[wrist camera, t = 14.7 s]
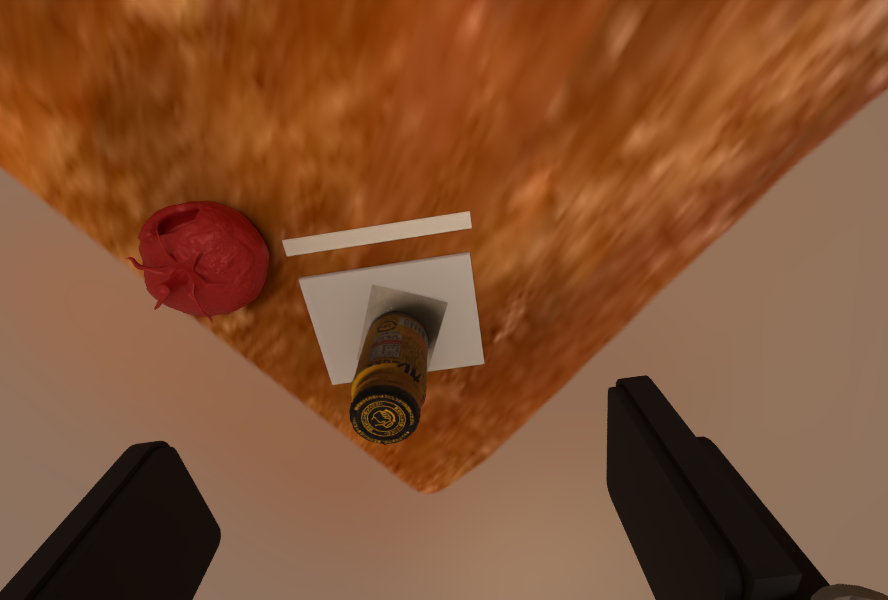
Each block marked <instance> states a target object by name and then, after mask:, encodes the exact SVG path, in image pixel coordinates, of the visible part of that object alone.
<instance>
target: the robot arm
mask: <svg viewBox="0 0 888 600" xmlns="http://www.w3.org/2000/svg"><path fill="white" fill-rule="evenodd" d="M607 422H608V423H607V487H608V491H609V494H610V497H611V500H612V502H613V504H614V506H615V509H616V511H617V513H618V516H619V518H620V520H621V522H622V525H623V527H624V529H625V531H626V533H627V536H628V538H629V540H630V543H631V545H632V547H633V549H634V552H635V554H636V556H637V558H638V561H639V563H640V565H641V568H642V570H643V572H644V574H645V577H646V579H647V581H648V583H649V585H650V588H651V590H652V592H653V595H654V597H655V599H656V600H888V596H887V595H885V594H883V593H880V592H877V591H874V590H871V589H868V588H864V587H861V586H857V585H847V584H835V585H829V583H828V582H827V581H826V580H825V578H824V577H823V576H822V575H821V574H820V572H819V571H818V570H817V569H816V567H815V566H814V565H813V564H812V563H811V561H810V560H809V559H808V558H807V557H806V555H805V554H804V553H803V552H802V550H801V549H800V548H799V547H798V545H797V544H796V543H795V542H794V541H793V539H792V538H791V537H790V536H789V534H788V533H787V532H786V531H785V530H784V528H783V527H782V526H781V525H780V523H779V522H778V521H777V520H776V519H775V517H774V516H773V515H772V514H771V512H770V511H769V510H768V509H767V507H765V505H764V504H763V503H762V501H761V500H760V499H759V498H758V496H757V495H756V494H755V493H754V491H753V490H752V489H751V488H750V487H749V485H748V484H747V483H746V482H745V481H744V479H743V478H742V477H741V476H740V474H739V473H738V472H737V471H736V469H735V468H734V467H733V466H732V465H731V463H730V462H729V461H728V460H727V459H726V457H725V456H724V455H723V454H722V452H721V451H720V450H719V449H718V447H717V446H716V445H715V444H714V443H713V442H712V441H711V440H709V439H708V438H706V437H696V436H695V435H694V434H693V432H692V431H691V430H690V429H689V427H688V426H687V425H686V424H685V422H684V421H683V420H682V418H681V417H680V416H679V415H678V413H677V412H676V411H675V409H674V408H673V407H672V406H671V404H670V403H669V402H668V401H667V399H666V398H665V396H664V395H663V394H662V393H661V391H660V390H659V389H658V387H657V386H656V385H655V384H654V383H653V381H652V380H651V379H650V378H649V377H648V376H646V375H645V376H637V377H631V378H623V379H618V380H617V382H616V387H610V388H609V389H608V418H607ZM220 539H221V532H220V528H219V526H218V524H217V522H216V521H215V518H214V517H213V515H212V513H211V511H210V510H209V508H208V506H207V504H206V503H205V501H204V499H203V497H202V495H201V494H200V492H199V490H198V488H197V486H196V485H195V483H194V481H193V479H192V478H191V476H190V474H189V472H188V470H187V469H186V467H185V465H184V463H183V462H182V460H181V458H180V456H179V454H178V453H177V451H176V450H175V448H173V447H170V446H169V445H168V443H166V442H164V441H155V442H147V443H141V444H135V445H132V446H130V447H129V448H128V449H127V450H126V451H125V452H124V453H123V454H122V455H121V456H120V457H119V459H118V460H117V461H116V462H115V463H114V464H113V466H111V468H110V469H109V470H108V471H107V472H106V473H105V474H104V475H103V477H102V478H101V479H100V480H99V481H98V482H97V484H95V486H94V487H93V488H92V489H91V490H90V491H89V492H88V494H87V495H86V496H85V497H84V498H83V499H82V500H81V502H80V503H79V504H78V505H77V506H76V507H75V508H74V509H73V511H72V512H71V513H70V514H69V515H68V516H67V517H66V518H65V520H64V521H63V522H62V523H61V524H60V525H59V526H58V528H57V529H56V530H55V531H54V532H53V533H52V534H51V535H50V537H48V539H47V540H46V541H45V542H44V543H43V544H42V545H41V546H40V548H39V549H38V550H37V551H36V552H35V553H34V554H33V556H32V557H31V558H30V559H29V560H28V561H27V562H26V563H25V565H24V566H23V567H22V568H21V569H20V570H19V571H18V573H17V574H16V575H15V576H14V577H13V578H12V579H11V580H10V581H9V583H8V584H7V585H6V586H5V587H4V588H3V589H2V590H1V592H0V600H193V597H194V595H195V593H196V591H197V589H198V587H199V585H200V583H201V581H202V579H203V576H204V575H205V573H206V571H207V568H208V567H209V565H210V563H211V561H212V559H213V557H214V554H215V552H216V550H217V548H218V546H219V543H220Z"/></svg>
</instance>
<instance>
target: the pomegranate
mask: <svg viewBox="0 0 888 600" xmlns="http://www.w3.org/2000/svg"><path fill="white" fill-rule="evenodd" d="M138 239H139V240H141V243H140V245H139V251H140V254H141V257H142V260H143V265H140V264H139V263H137V261H136V260H135V259H134V258H132V257H128V258H126V259H130V260H131V261H132V263H133V264H134V266H135V267H136V268H137V269H140V270H144V277H145V283H146V287H147V290H148V292H149V293H150V294H151V295H152V296H153V297H154V298H155V299H157V300H158V302H157V304H156V306H155V308H154V309H157V308H159V307H160V305H161V304H162V303H163V304H164V305H166V306H168V307H170V308H174V309H176V310H179V311H181V312H183V313H187V314H191V315H197V316H201V317H208V318H209V319H210V320H211V322H212V323H213V321H212V318H211V317H210V316H214V315H220V314H229V313H231V312H234V311H236V310H238V309H239V308H241V307H243V306H245V305H247V304H248V303H250V302H252V301H253V300H255V299H256V298H257V296H258V295H259V294H260V292H261V290H262V288H263V286H264V283H265V280H266V276H267V272H268V266H269V257H270V255H269V252H268V248H267V246H266V244H265V242H264V240H263V238H262V237H261V235H260V234H259V232H258V231H257V230H256V229H255V227H254V226H253V225H252V224H251V223H250V222H249V221H248V219H247V218H246V217H245V216H243V215H242V214H241V213H240V212H238V211H236V210H234V209H232V208H230V207H227V206H225V205H222V204H219V203H215V202H211V201H194V202H187V203H183V204H178V205H172V206H168V207H165V208H163V209H161V210H159V211H157V212H155V213H154V214H153V215H152V216H151V217H150V218H149V219H148V220H147V221H146V223H145V224H144V226H143V228H142V229H141V232H140V234H139V236H138Z"/></svg>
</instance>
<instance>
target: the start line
mask: <svg viewBox="0 0 888 600" xmlns="http://www.w3.org/2000/svg"><path fill="white" fill-rule="evenodd" d="M469 228H472V226H471V218H470V211H467V212H460V213H454V214H447V215H441V216H434V217H428V218H422V219H415V220H409V221H402V222H396V223H390V224H383V225H377V226H370V227H364V228H357V229H351V230H345V231H338V232H332V233H325V234H319V235H313V236H306V237H300V238H293V239H287V240H282V243H283V246H284V249H285V252H286V255H287V256H294V255H300V254H307V253H313V252H320V251H326V250H333V249H339V248H346V247H352V246H359V245H365V244H371V243H378V242H384V241H391V240H397V239H404V238H410V237H417V236H423V235H430V234H436V233H443V232H449V231H456V230H462V229H469Z"/></svg>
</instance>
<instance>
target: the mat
mask: <svg viewBox="0 0 888 600" xmlns="http://www.w3.org/2000/svg"><path fill="white" fill-rule="evenodd" d="M299 283H300V286H301V289H302V293H303V296H304V299H305V302H306V305H307V308H308V311H309V314H310V317H311V320H312V323H313V327H314V330H315V333H316V336H317V339H318V342H319V345H320V348H321V351H322V354H323V357H324V361H325V364H326V367H327V370H328V373H329V376H330V379H331V382H332V385H335V384H342V383H349V382H352V381H353V378H354V376H355V373H356V369H357V366H358V361H359V360H357V356H358V352H359V347H360V342H361V337H362V332H363V327H364V322H365V317H366V312H367V308H368V302H369V298H370V292H371V288H372V285H376V286H380V287H386V288H390V289H393V290H398V291H405V292H407V293H412V294H416V295H421V296H424V297H429V298H432V299H437V300H439V301H444V302H447V303H448V304H447V307H446V311H445V314H444V317H443V321H442V324H441V328H440V331H439V335H438V338H437V341H436V344H435V348H434V351H433V355H432V358H431V361H430V365H429V369H428V372H429V371H436V370H443V369H451V368H458V367H465V366H472V365H479V364H484V357H483V349H482V342H481V334H480V327H479V320H478V312H477V305H476V297H475V290H474V282H473V275H472V267H471V260H470V253H469V252H465V253H459V254H452V255H445V256H439V257H432V258H426V259H419V260H412V261H406V262H399V263H393V264H386V265H379V266H373V267H366V268H360V269H353V270H346V271H340V272H333V273H327V274H320V275H313V276H307V277H300V278H299ZM387 311H388V310H387Z"/></svg>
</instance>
